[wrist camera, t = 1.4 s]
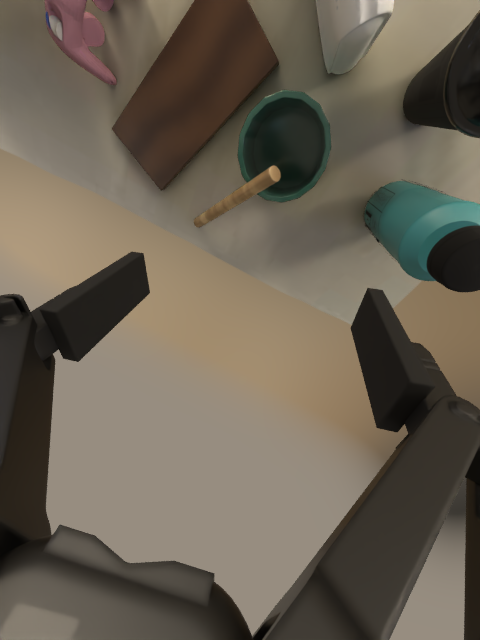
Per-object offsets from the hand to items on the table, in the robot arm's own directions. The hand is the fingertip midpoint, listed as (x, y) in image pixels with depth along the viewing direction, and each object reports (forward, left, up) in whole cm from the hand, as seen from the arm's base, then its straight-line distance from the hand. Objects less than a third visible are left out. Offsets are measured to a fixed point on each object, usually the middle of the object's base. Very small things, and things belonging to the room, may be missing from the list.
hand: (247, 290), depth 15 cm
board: (-16, -2, -24) cm, 30 cm away
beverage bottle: (+8, +11, -25) cm, 28 cm away
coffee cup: (-5, +4, -24) cm, 25 cm away
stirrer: (-5, -4, -19) cm, 20 cm away
